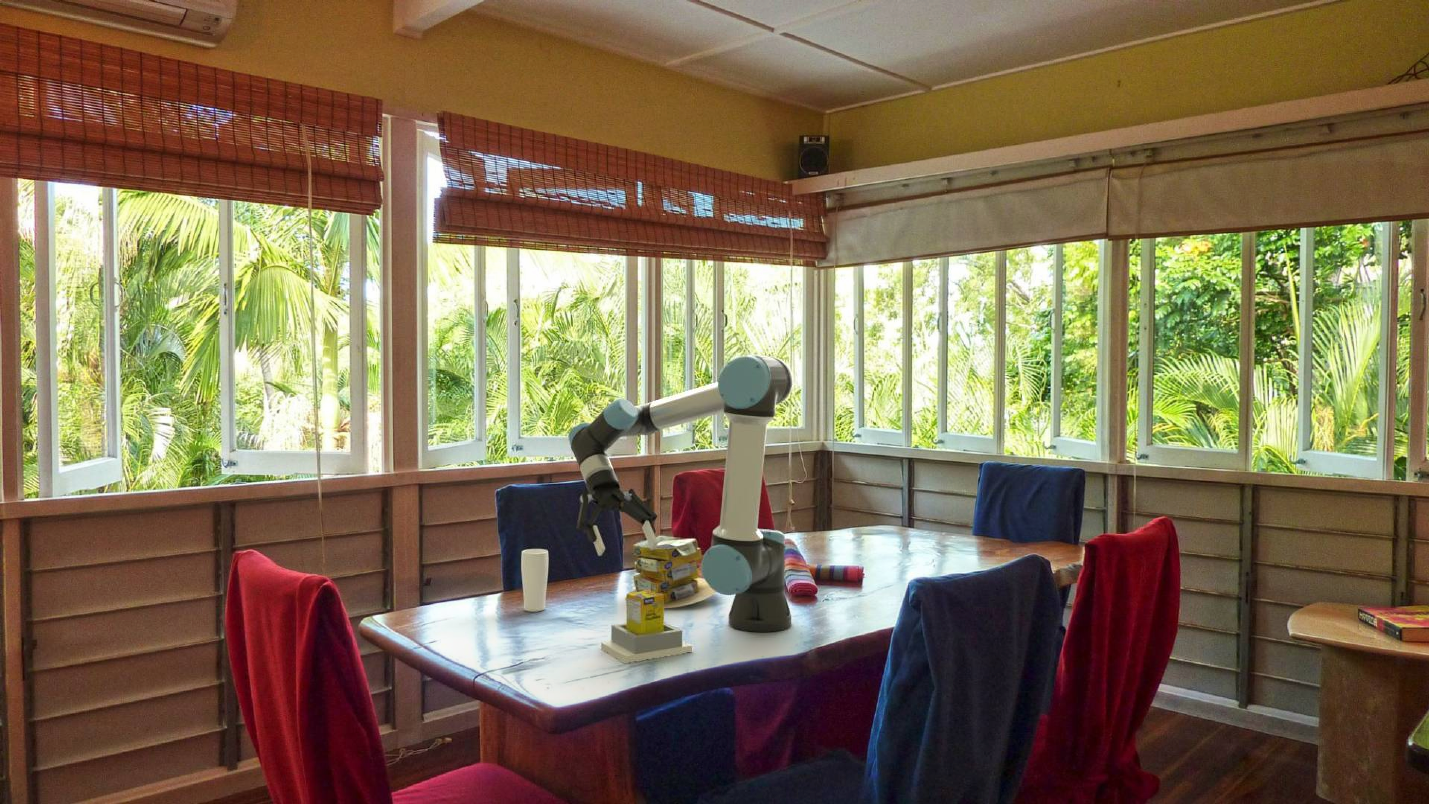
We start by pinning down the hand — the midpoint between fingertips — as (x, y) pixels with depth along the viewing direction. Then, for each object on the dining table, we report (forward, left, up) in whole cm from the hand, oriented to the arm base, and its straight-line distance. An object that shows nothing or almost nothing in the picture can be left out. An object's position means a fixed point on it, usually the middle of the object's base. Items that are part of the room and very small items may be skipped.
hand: (628, 549), depth 219 cm
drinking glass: (+10, -33, -20) cm, 40 cm away
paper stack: (-26, -26, -20) cm, 42 cm away
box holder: (+2, +13, -20) cm, 24 cm away
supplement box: (+2, +13, -19) cm, 23 cm away
